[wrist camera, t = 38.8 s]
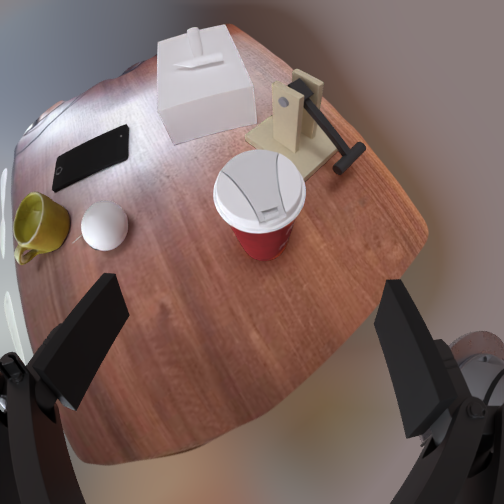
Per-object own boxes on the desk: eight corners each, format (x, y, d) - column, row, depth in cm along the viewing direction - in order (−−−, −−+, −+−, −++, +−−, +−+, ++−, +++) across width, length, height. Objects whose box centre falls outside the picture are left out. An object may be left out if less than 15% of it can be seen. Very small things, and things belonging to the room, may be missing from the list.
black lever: (359, 152, 35) (370, 149, 33) (335, 176, 35) (345, 173, 32) (301, 79, 32) (308, 72, 30) (271, 98, 31) (278, 91, 29)
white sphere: (135, 206, 40) (113, 184, 33) (138, 250, 38) (113, 233, 31) (86, 223, 41) (60, 205, 33) (86, 265, 38) (57, 252, 31)
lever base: (341, 147, 41) (359, 89, 28) (302, 184, 39) (311, 125, 27) (286, 110, 44) (287, 52, 31) (245, 141, 42) (235, 81, 30)
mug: (51, 188, 41) (21, 180, 31) (85, 214, 42) (55, 210, 33) (27, 243, 41) (-4, 244, 31) (58, 271, 42) (27, 278, 32)
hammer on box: (174, 145, 43) (152, 101, 33) (168, 70, 51) (154, 34, 40) (257, 123, 43) (252, 74, 33) (230, 53, 50) (223, 16, 40)
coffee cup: (304, 257, 36) (323, 208, 22) (244, 278, 36) (225, 241, 22) (282, 203, 39) (285, 133, 24) (226, 221, 38) (200, 159, 24)
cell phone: (59, 159, 46) (56, 157, 45) (129, 126, 46) (127, 123, 45) (54, 193, 43) (51, 191, 42) (128, 159, 43) (126, 156, 42)
